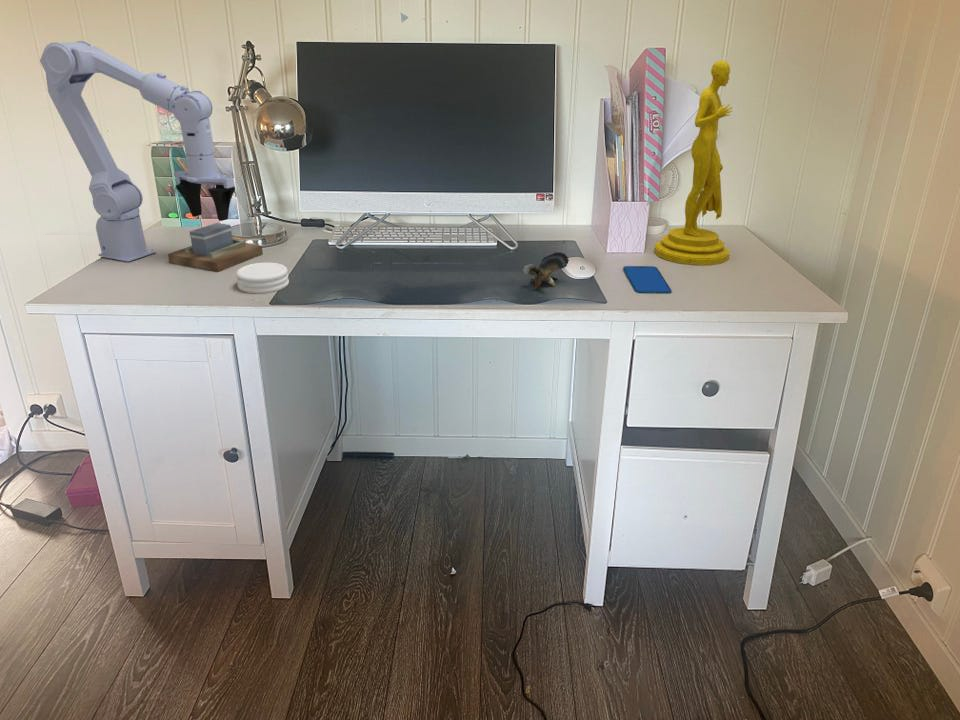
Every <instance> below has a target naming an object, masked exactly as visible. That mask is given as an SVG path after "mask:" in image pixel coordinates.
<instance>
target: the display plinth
mask: <svg viewBox="0 0 960 720" xmlns="http://www.w3.org/2000/svg"><path fill="white" fill-rule="evenodd" d="M232 239H233V245H230V246H227V247H224V248H222V249H219V250H216V251H213V252H210V253H209V256H202V255H196V254H193V248H192V245H190V246H187V247H184V248H181V249H178V250H176V251H173V252H169V253H167V257H168V262H169V264H173V265H174V264H175V265H180V266H185V267H189V268H194V269H195V268H196V269H200V270H205V271H206V270H207V271H211V272H216V273H219V272H221V271H224V270H227V269H229V268H232V267H234V266H237V265H239V264H241V263H244V262H246V261H249V260H252V259H254V258H256V257H259V256H262V255H263V253H264V252H263V246H262V245H261V244H255V243H254V244H253V243H247V242H245V240H244V239H239V238H233V237H232Z"/></svg>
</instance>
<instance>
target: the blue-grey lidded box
mask: <svg viewBox="0 0 960 720" xmlns="http://www.w3.org/2000/svg"><path fill="white" fill-rule="evenodd" d="M232 232H233V231H232V228H231V224H227V223H226V224H225V223H221V222H216V223H212V224H208V225H206V226H203V227H199V228H197V229H196V228H195V229H194V230H193V229H192V230H190V231H189V237H190V241H191V246H192V248H193V254H196V255H202V256H209V253H210V252H213V251H216V250H219V249H222V248H224V247H227V246H230V245H233V239H232V238H233V233H232Z"/></svg>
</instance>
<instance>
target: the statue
mask: <svg viewBox="0 0 960 720" xmlns="http://www.w3.org/2000/svg"><path fill="white" fill-rule="evenodd" d="M730 66H731V65H730V64H729V62H728V61H725V60H718V61H716V62H714V63H713V65H712V66H711V70H710V72H711V73H710V75H711V76H712V79H711V83H710V85H709V86H708V87H707V88H705V89H704V90H703V91H702V92H701V94H700V97H699V104H698V110H697V113H696V116H695V120H694V126H695V127H696V128H699V132H698V134H697V136H696V137H695V139H694V140H693V143H692V145H691V157H692V161H693V174H692V187H691V190H690V192H689V193H688V195H687V198H686V200H685V206H684V207H685V208H684V214H685V224H684V227H676V228H672V229H670V230H669V231H668V233H667V234H666V235H663V236H662V238H661V240H659V241H657V242H656V243H655V244H654V248H653V253H655V255H656V256H658V257H659V258H661V259H664V260H666V261H668V262H673V263H677V264H683V265H691V266H692V265H693V266H712V265H718V264H723V263H725V262H727V261H729V257H730V250H729V249H728V248H727V247H726V246H725V242H724V241H723V240H721V239H720V237H719V236H720V235H719V234H718V233H717V232H715V231H712V230H709V229H706V228H699V227H698V222H697V221H698V217H699V216H700V214H701V215H702V216H701V217H702V218H703V217H704V216H705V215H707V212H714V213H716V216H715V220H717V219H720V218H721V217H722V212H723V211H722V209H723V202H722V201H723V199H722V185H721V174H720V173H721V172H722V170H723V169H724V167H723V164H722V163H721V157H720V153H719V151H718V148H717V138H718V127H719V119H721V118H725V117H729V116H731V114H730V113H732V112H733V110H731V109H733V106H730V105H731V103H728V104H727V105H724V104H722V101H721V96H720V95H719V93H718V91H719V89H720V87H726V86H727V84H728V83H729V80H730V73H731V67H730ZM724 106H725V107H724ZM729 106H730V107H729Z"/></svg>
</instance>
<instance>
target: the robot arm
mask: <svg viewBox="0 0 960 720" xmlns="http://www.w3.org/2000/svg"><path fill="white" fill-rule="evenodd" d="M43 49H44V50H43V52H42V54H41V57H40V60H39V62H40V64H41V66H42V68H43V70H44V72H45V80H46V85H47V87H46V89H47V92H48V95H49V96H50V99H51V101H52V103H53V105H54V106H55V108H56V110H57V112H58V114H59V116H60V118H61V121H62V123H64V125H65V128H66V130H67V131H68V133H69V135H70V137H71V139H72V141H73V144H74V145H75V147H76V149H77V151H78V153H79V155H80V157H81V159H82V161H83V162H84V164H85V166H86V169H87V170H88V171H89V174H90V176H91V179H90V183H89V186H88V189H89V190H88V191H89V192H90V194H91V196H92V197H91V198H92V205H93V206H92V207H93V208H94V210H95V211H96V213H97V214H98V215H99V217H98V219H97V220H96V224H95V231H96V235H97V240H98V243H99V247H100V252H101V253H98V255H97V256H98V257H101V258H107V259H112V260H115V261H123V262H132V261H134V260H139V259H140V258H141V259H142V258H143V257H146V256H150V255H153V254H156V253H157V250H155V249H150V248H147V243H146V238H145V234H144V230H143V224H142V220H141V216H140V215H141V214H140V211H141V210H140V207H141V205H142V204H143V193H142V192H141V189H140V187H138V186H137V185H136V184H135V183H134V182H133V181H132V180H131V178H130V176H129V174H127V173H126V172H125V171H123V170H122V169H120V168H118V165H117V164H116V161H115V159H114V158H113V155H112V154H111V152H110V149H109V148H108V146H107V144H106V142H105V140H104V138H103V136H102V134H101V131H100V130H99V128H98V125H97V124H96V122H95V120H94V118H93V116H92V115H91V112H90V110H89V108H88V106H87V103H86V102H85V100H84V98H83V96H82V93H83V90H84V88H85V86H86V83H87V82H88V81H89V80H90V79H91V78H92V77H93V76H94V75H95V74H99V73H100V74H102V75H104V76H107V77H109V78H111V79H113V80H115V81H118V82H121V83H123V84H125V85H127V86H130V87H132V88H133V89H136V90H138V91H139V92H140V95H141V97H142V99H143V100H145V101H147V102H149V103H151V104H153V105H155V106H157V107H159V108H160V109H163V110H164V111H167V112H169V113H171V114H173V116H174V118H175V119H176V120H177V121H178V123H179V124H180V129H181V130H180V131H181V135H182V141H183V147H184V153H185V159H186V165H187V170H188V171H185V170H180V171H176V172H174V176H175V181H176V182H177V183H179V184H175V189H176V190H177V191H178V192H179V194H180V195H181V197H182V198H183V200H184V201H185V203H186V205H187V207H188V210H189V212H190V214H191V216H192V217H194V218H195V217H199V216H202V214H203V213H202V211H203V210H202V200H201V192H202V186H203V185H206V186H214V187H212V188H209V189H208V193H209V195H210V196H211V198H212V200H213V204H214V207H215V210H216V211H215V212H216V216H217V219H218V221H220V222H224V221H226V220H229V211H230V205H231V200H232V197H233V195H234V192H235V190H236V187H235V182H234V178H233V177H231V176H227V175H224V174H220V173H218V168H217V162H216V155H215V147H214V141H213V134H212V129H211V121H210V117H211V115H212V114H213V109H214V108H213V103H212V102H211V99H210V98H209V97H208V96H207V95H206V94H205V93H203V92H202V91H201V90H191V91H190V90H189V87H188V86H187V85H185V84H183V85H180V84H177V83H176V82H174V81H172V80H170V79H169V78H167V74H165V73H163V72H150V73H147V74H145V73H143V72H142V71H140V70H138V69H136V68H134V67H133V66H131V65H129V64H128V63H126V62H124V61H122V60H121V59H118V58H116V57H115V56H113V55H111V54H109V53H108V52H106V51H104V50H103V49H102V48H101V47H99V46H96V45H92V44H91V43H89V42H87V41H84V40H83V41H82V40H79V41H74V42H50V43H49V44H46V45H45V47H44V48H43Z"/></svg>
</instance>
